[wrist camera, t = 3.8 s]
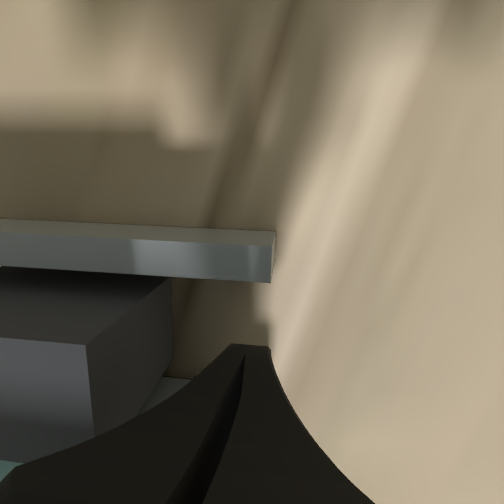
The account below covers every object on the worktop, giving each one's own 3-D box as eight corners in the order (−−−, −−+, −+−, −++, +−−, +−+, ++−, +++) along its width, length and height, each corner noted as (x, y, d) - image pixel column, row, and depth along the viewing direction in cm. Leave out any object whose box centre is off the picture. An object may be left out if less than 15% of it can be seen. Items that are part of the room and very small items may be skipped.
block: (173, 357, 15) (98, 473, 9) (17, 342, 15) (-146, 440, 10) (171, 275, 14) (85, 344, 8) (5, 264, 15) (-183, 320, 9)
